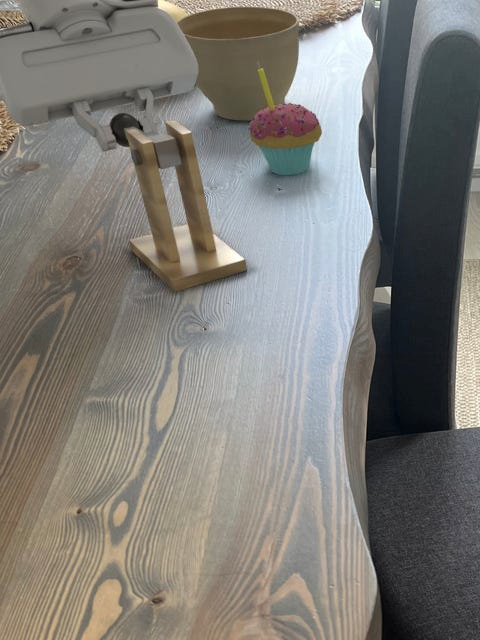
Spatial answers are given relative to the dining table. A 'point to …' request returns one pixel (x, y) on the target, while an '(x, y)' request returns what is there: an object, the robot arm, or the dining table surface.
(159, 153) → the knife lever
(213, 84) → the planter bowl
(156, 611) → the dining table surface
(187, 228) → the wooden lever stand
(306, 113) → the cupcake
